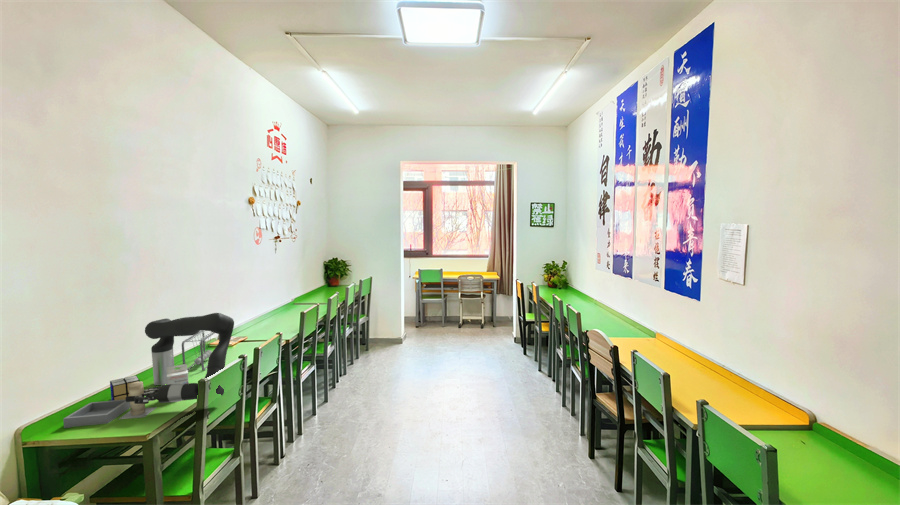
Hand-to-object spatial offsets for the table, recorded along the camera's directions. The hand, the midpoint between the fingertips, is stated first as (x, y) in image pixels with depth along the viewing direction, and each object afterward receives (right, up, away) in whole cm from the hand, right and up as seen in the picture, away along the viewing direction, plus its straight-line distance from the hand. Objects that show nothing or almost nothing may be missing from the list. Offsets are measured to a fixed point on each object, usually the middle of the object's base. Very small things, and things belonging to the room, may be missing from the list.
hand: (130, 396), depth 178 cm
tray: (-12, -8, -1) cm, 15 cm away
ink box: (+9, -7, +18) cm, 21 cm away
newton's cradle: (-9, -4, +68) cm, 69 cm away
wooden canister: (+3, -7, +1) cm, 8 cm away
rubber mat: (+3, -8, +1) cm, 8 cm away
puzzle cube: (-14, -8, +16) cm, 22 cm away
